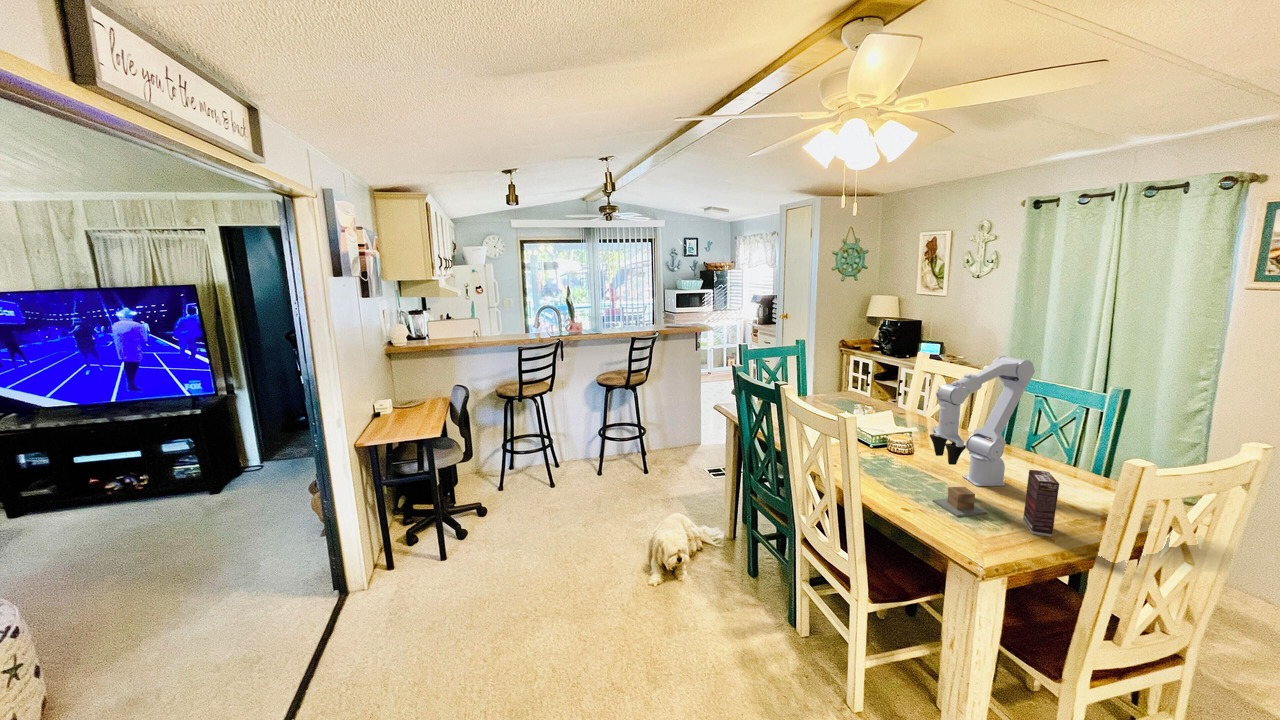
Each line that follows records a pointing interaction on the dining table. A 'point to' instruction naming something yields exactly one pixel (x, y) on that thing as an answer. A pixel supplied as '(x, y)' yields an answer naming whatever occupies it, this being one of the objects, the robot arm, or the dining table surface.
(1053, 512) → the supplement box
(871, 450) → the dining table surface
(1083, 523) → the dining table surface
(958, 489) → the walnut cube
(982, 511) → the slate coaster
